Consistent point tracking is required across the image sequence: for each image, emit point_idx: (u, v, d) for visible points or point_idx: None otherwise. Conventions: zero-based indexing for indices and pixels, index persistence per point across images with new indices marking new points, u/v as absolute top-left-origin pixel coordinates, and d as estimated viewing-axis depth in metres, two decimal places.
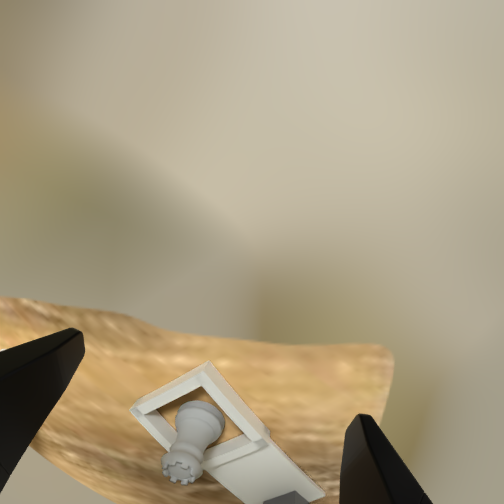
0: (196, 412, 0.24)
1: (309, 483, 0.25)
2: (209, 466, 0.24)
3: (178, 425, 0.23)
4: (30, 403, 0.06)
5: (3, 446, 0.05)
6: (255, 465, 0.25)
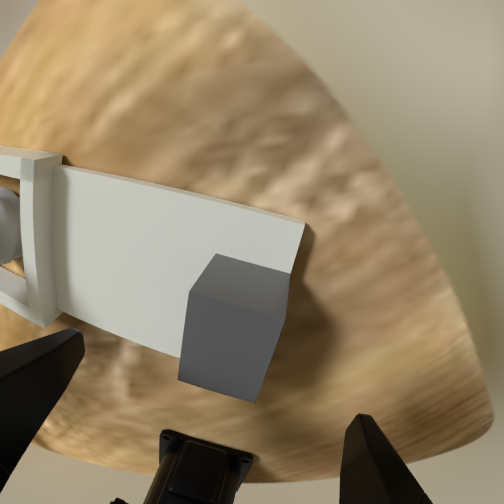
0: None
1: (220, 208, 0.12)
2: (36, 289, 0.13)
3: None
4: (30, 403, 0.06)
5: (3, 447, 0.05)
6: (94, 240, 0.13)
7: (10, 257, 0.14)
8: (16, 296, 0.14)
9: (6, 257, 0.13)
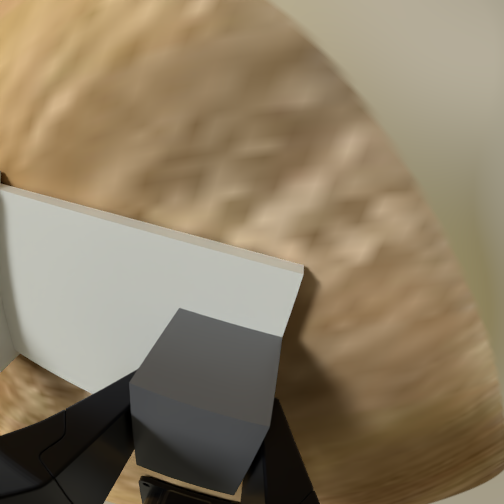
0: None
1: (181, 247, 0.08)
2: None
3: None
4: (118, 451, 0.06)
5: (86, 500, 0.05)
6: (36, 279, 0.09)
7: None
8: None
9: None
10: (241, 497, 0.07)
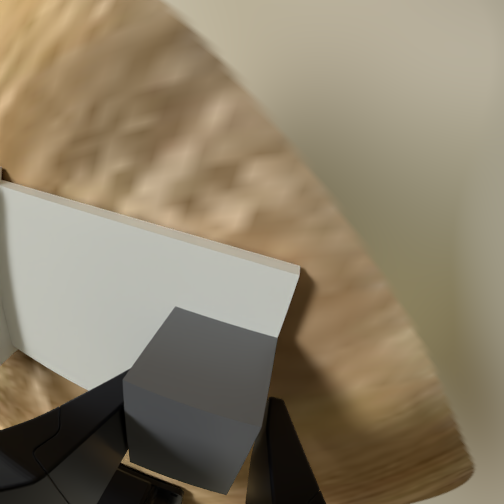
0: None
1: (177, 246, 0.08)
2: None
3: None
4: (112, 449, 0.06)
5: (81, 498, 0.05)
6: (35, 276, 0.10)
7: None
8: None
9: None
10: (246, 498, 0.07)
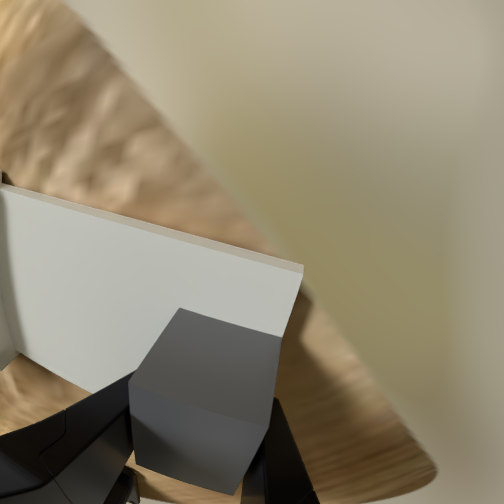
0: None
1: (181, 247, 0.08)
2: None
3: None
4: (117, 451, 0.06)
5: (86, 500, 0.05)
6: (37, 279, 0.10)
7: None
8: None
9: None
10: (241, 497, 0.07)
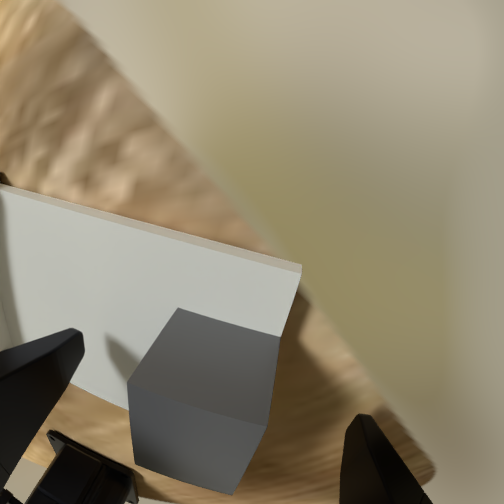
0: None
1: (179, 247, 0.08)
2: None
3: None
4: (30, 403, 0.06)
5: (3, 447, 0.05)
6: (36, 279, 0.09)
7: None
8: None
9: None
10: None
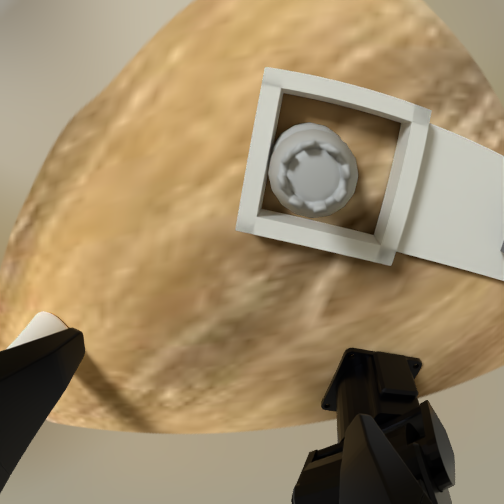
0: (288, 134, 0.15)
1: None
2: (401, 224, 0.16)
3: None
4: (30, 403, 0.06)
5: (3, 446, 0.05)
6: (450, 183, 0.16)
7: None
8: (355, 238, 0.17)
9: None
10: None
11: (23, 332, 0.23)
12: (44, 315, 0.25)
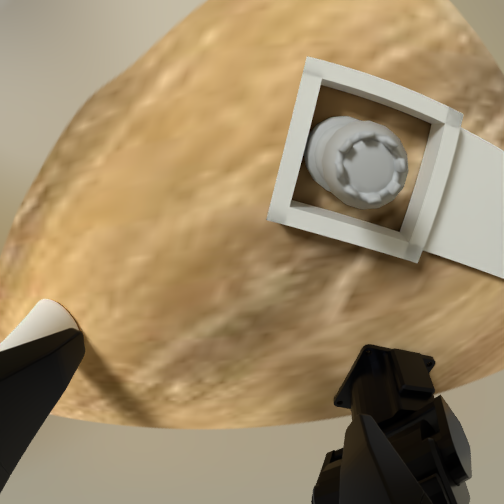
0: (326, 125, 0.15)
1: None
2: (429, 222, 0.15)
3: (318, 161, 0.15)
4: (30, 403, 0.06)
5: (3, 447, 0.05)
6: (474, 185, 0.15)
7: None
8: (384, 233, 0.16)
9: None
10: None
11: (25, 320, 0.22)
12: (47, 303, 0.24)
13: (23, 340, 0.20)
